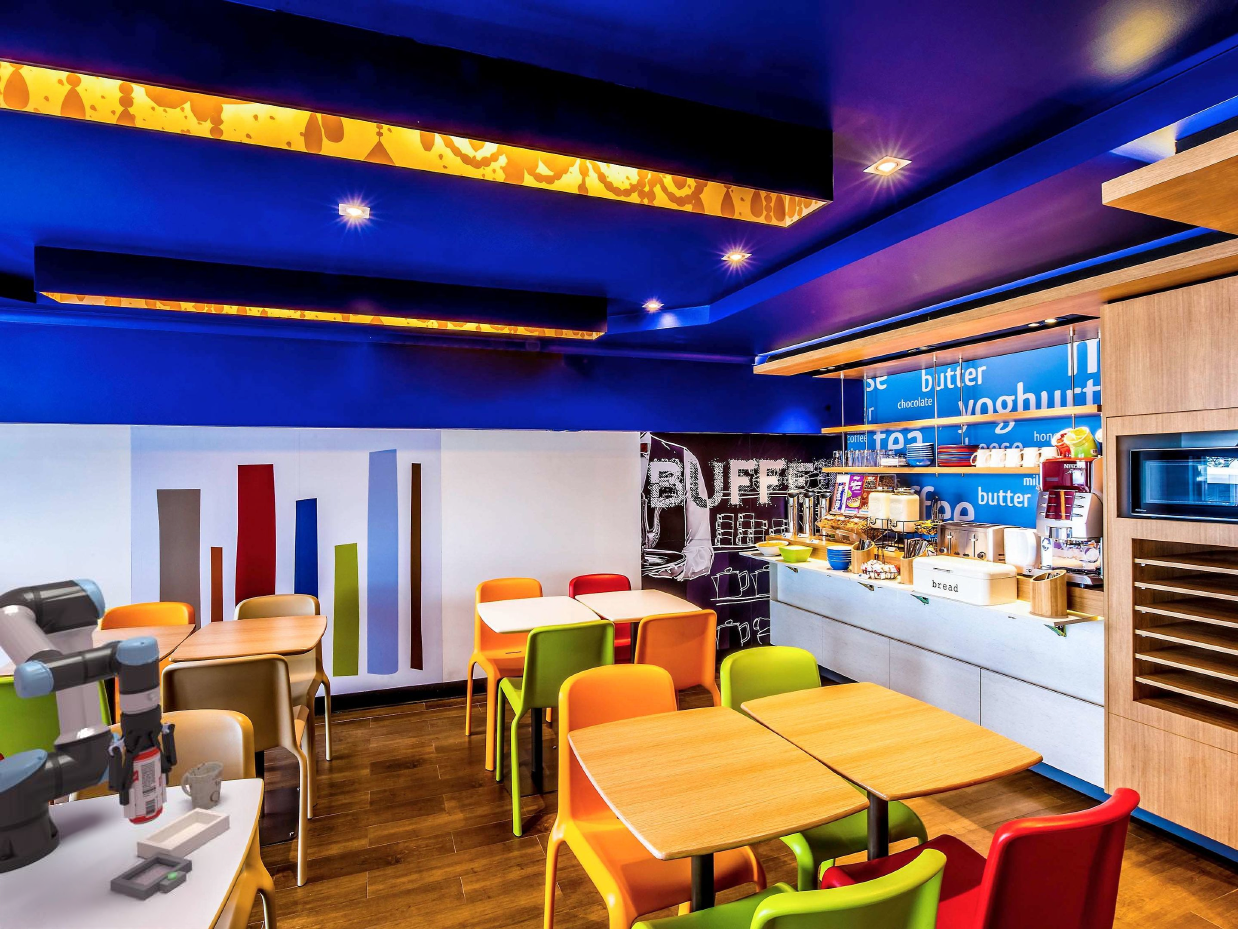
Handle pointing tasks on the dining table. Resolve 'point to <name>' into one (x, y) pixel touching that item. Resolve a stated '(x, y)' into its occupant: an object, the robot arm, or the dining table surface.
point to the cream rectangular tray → (184, 834)
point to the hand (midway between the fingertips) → (145, 809)
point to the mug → (204, 784)
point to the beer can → (147, 786)
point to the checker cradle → (160, 884)
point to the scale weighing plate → (151, 874)
